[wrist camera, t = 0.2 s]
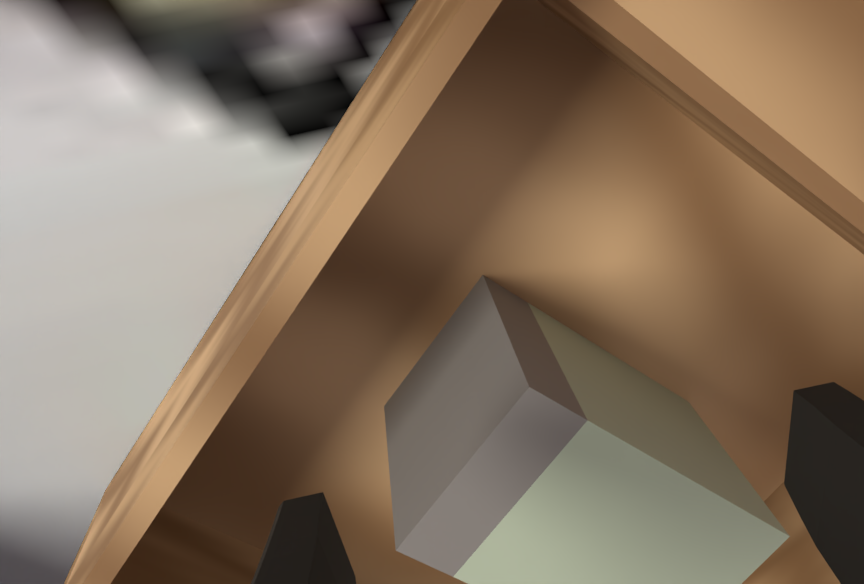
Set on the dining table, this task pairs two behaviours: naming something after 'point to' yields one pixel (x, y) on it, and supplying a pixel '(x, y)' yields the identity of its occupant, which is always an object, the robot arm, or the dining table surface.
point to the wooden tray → (525, 262)
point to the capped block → (560, 463)
